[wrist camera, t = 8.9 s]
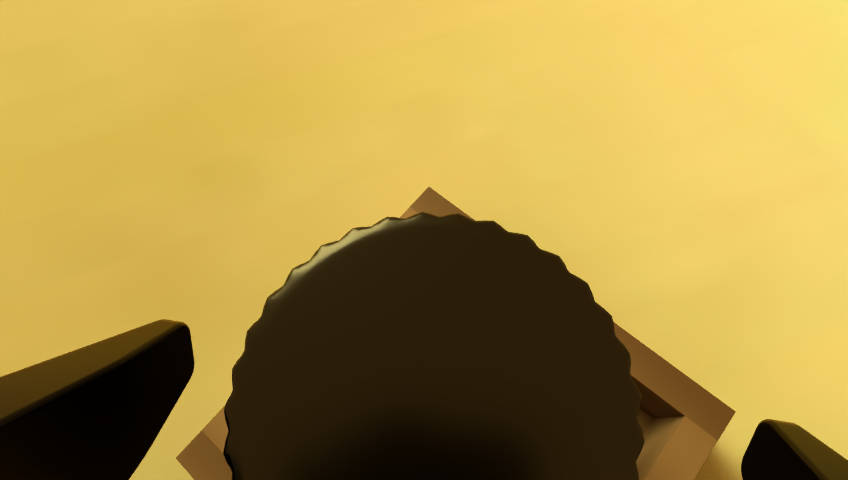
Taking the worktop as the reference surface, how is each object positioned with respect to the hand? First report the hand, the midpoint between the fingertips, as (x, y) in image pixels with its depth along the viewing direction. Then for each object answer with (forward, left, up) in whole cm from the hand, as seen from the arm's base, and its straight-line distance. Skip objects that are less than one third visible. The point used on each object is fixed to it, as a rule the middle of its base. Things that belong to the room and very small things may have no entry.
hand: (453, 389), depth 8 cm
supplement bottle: (0, 0, -10) cm, 10 cm away
